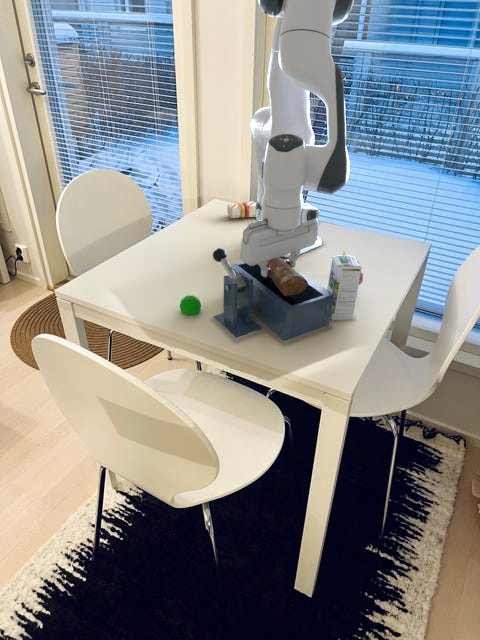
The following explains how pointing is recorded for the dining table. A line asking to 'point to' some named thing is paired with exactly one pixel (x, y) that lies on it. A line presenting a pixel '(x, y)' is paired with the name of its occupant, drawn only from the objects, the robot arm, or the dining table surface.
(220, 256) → the toaster lever
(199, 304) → the polyhedron
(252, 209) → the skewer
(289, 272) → the bread
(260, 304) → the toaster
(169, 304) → the dining table surface
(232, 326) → the lever bracket
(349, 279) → the syrup box
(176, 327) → the dining table surface
